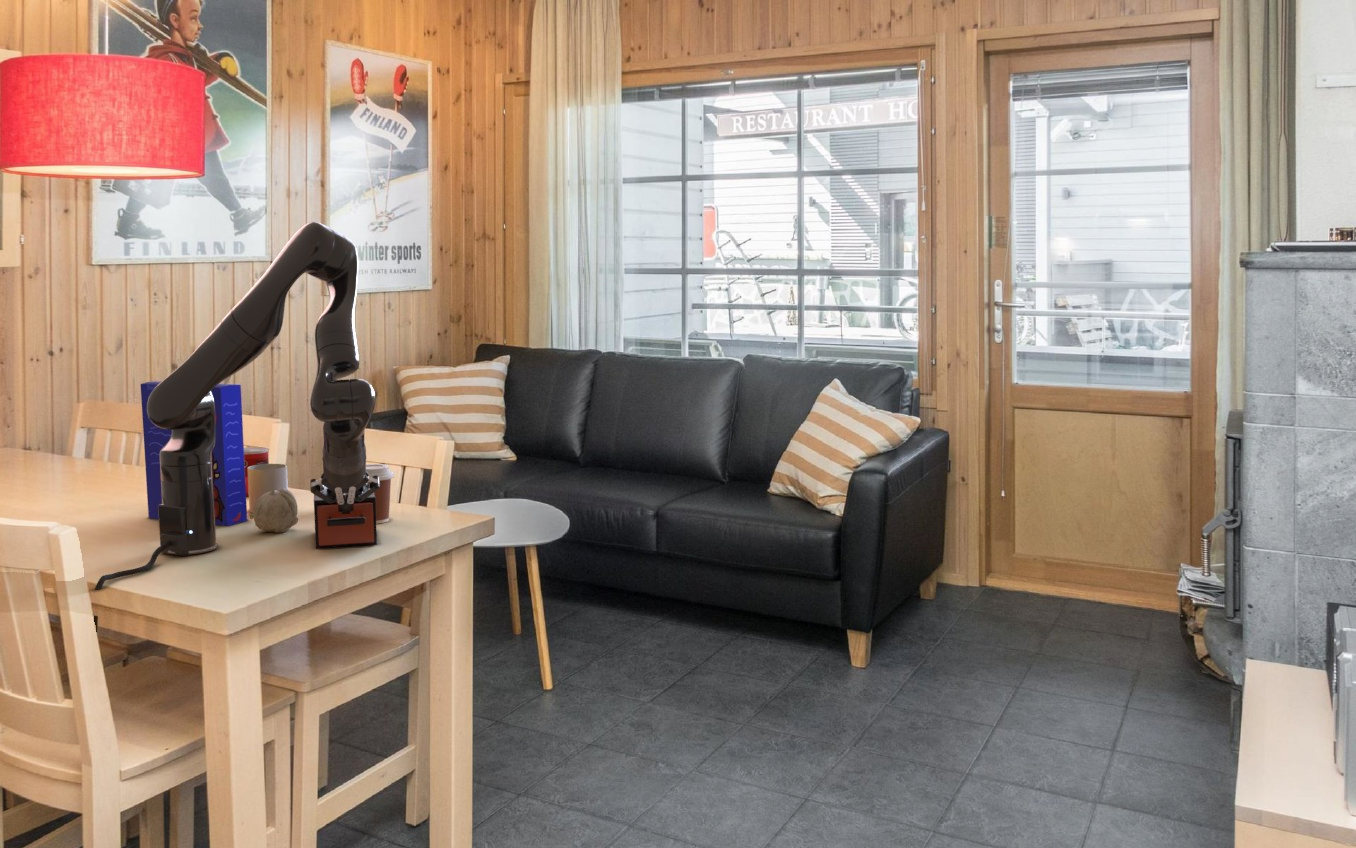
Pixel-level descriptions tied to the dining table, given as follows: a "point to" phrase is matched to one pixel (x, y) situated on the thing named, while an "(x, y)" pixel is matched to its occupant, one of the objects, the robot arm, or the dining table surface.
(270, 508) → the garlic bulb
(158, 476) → the cereal box
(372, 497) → the box
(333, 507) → the brown drawer box
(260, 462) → the canned food
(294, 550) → the dining table surface
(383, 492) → the coffee cup
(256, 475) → the cup
